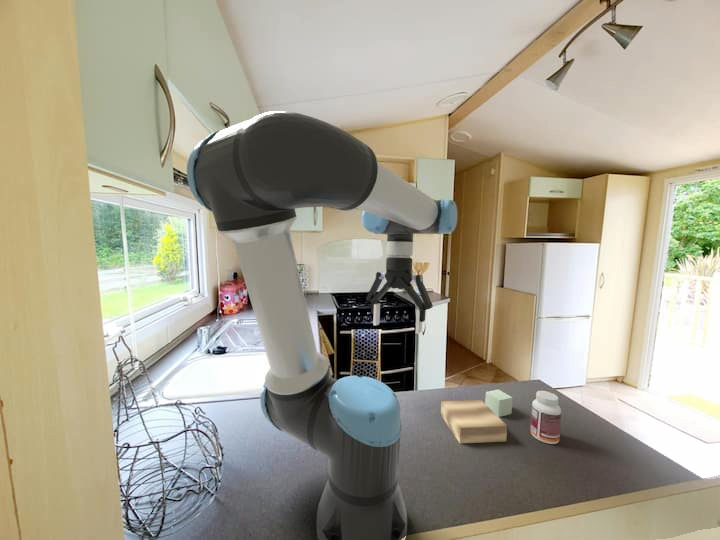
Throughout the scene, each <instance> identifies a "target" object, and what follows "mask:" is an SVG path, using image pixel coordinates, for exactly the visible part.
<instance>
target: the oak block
mask: <svg viewBox="0 0 720 540" xmlns="http://www.w3.org/2000/svg"><path fill="white" fill-rule="evenodd" d="M440 402H441V403H440V416H441V417H442V419H443V421H444V422H445V424H446V425H447V427H448V428H449V430H450V431H451V433H452V434H453V436H454V437H455V439H456V440H457V441H458V443H459V444H477V443H496V442H497V443H500V442H507V435H508V425H507V424H506V423H505V422H504V421H503V420H502V419H501V418H500V417H498V416H497V415H496V414H495V413H494V412H493V411H492V410H491V409H490V408H489V407H488V406H487V405H486V404H485V401H483V400H482V399H473V400H471V399H466V400H441V401H440Z"/></svg>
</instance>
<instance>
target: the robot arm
mask: <svg viewBox="0 0 720 540" xmlns="http://www.w3.org/2000/svg"><path fill="white" fill-rule="evenodd" d="M186 179H187V183H188V186H189V189H190V191H191V193H192V195H193V196H194V198H195V200H196V202H198V203H199V204H200V205H201V206H203V207H204V209H206V210H208V211H209V212H211V213H212V215H213V219H214V222H215V225H216V228H217V231H218V234H220V235H222V236H224V237H225V238H227V239H229V240H230V241H232V243H233V245H234V250H235V252H236V256H237V259H238V262H239V266H240V270H241V273H242V277H243V279H244V283H245V286H246V290H247V294H248V297H249V300H250V303H251V306H252V307H251V308H252V309H253V313H254V316H255V319H256V321H255V322H256V324H257V326H258V327H257V328H258V331H259V335H260V337H261V340H262V344H263V347H264V350H265V354H266V357H267V361H268V365H269V369H268V370H267V372H266V374H265V377H264V383H263V386H262V387H263V388H264V389H263V391H261V393H260V407H261V411H262V414H263V415H264V418H266V420H267V421H268V422H269V423H270V424H271V425H272V426H273V427H274V428H275V429H277V430H279V431H281V432H283V433H286V434H287V435H289V436H290V437H293V439H295V440H298V441H300V442H301V443H303V444H304V445H306V446H308V447H310V448H311V449H313V450H314V451H316V452H319V453H320V454H322V455H323V456H325V457H326V458H327V460H328V466H327V467H328V470H327V471H328V473H327V474H328V476H327V481H326V483H325V486H324V489H323V492H322V495H321V497H320V500H319V503H318V506H317V510H316V536H317V540H401V539H402V538H404V537H405V536H406V535H407V533H408V513H407V508H406V505H405V501H404V498H403V495H402V491H401V487H400V484H399V467H400V466H399V465H400V451H401V450H400V449H401V448H400V447H401V446H400V445H401V433H402V420H401V418H402V417H401V405H400V401H399V399H398V397H397V394H396V393H395V392H394V390H392V389H391V387H389V386H388V385H387V384H385V383H384V382H383V381H380V380H378V379H375V378H373V377H370V376H365V375H362V376H360V377H359V375H349V376H344V377H342V378H339V379H335V378H333V376H332V375H331V369H330V366H329V361H328V358H327V357H326V356H325V355H324V354H322V353H320V352H318V350H317V346H316V341H315V336H314V332H313V328H312V324H311V319H310V315H309V310H308V304H307V301H306V297H305V293H304V288H303V285H302V280H301V275H300V274H301V273H300V272H299V267H298V262H297V258H296V252H295V249H294V244H293V240H292V236H291V232H290V231H291V227H292V226H293V225H294V223H295V221H296V220H297V214H296V209H302V208H321V207H323V208H332V209H336V210H339V211H344V212H349V211H353V210H356V209H357V210H360V211H362V214H361V223H362V225H363V227H364V229H365V231H368V232H369V233H372V234H373V233H374V234H375V235H379V234H380V235H386V236H387V237H386V252H385V254H386V256H387V258H386V260H385V261H386V263H385V270H386V272H383V271H377V272H376V274H375V280H374V281H373V283H372V285H371V287H370V289H369V291H368V293H367V296H366V298H365V300H366V302H370V304H371V306H370V307H371V311H370V312H371V314H372V315H373V318H372V319H373V321H372V324H373V326H379V325H380V319H381V317H380V316H381V303H380V302H379V301H380V300H381V299H382V298H383V297H384V296H385V295H386V293H387V292H388V291H389V290H390V289H398V290H405V292H407V293H408V295H409V297H411V299H412V302H414V303H415V305H416V306H417V308H418V309H417V310H416V312H415V313H416V316H415V317H416V318H415V319H416V320H415V334H417V335H419V334H420V333H422V329H423V328H422V327H423V323H424V322H425V321H426V315H427V314H426V313H427V312H426V311H427V310H430V309H432V308H433V307H434V306H433V303H432V301H431V299H430V296H429V294H428V291H427V289H426V287H425V284H424V278H423V277H424V276H423V275H422V274H416V275H413V274H412V272H413V257H412V256H413V254H414V253H413V251H414V250H413V249H414V234H421V235H423V234H430V235H431V234H435V235H437V234H438V235H441V234H451V233H453V232H454V231H455V229H456V227H457V224H458V208H457V207H458V206H457V204H456V202H455V201H454V200H453V199H443V198H442V199H441V198H440V199H438V200H436V199H435V198H432V197H431V196H430V195H427V194H426V193H425V192H423V191H422V190H420V189H419V188H417V187H416V186H414V185H413V184H411V183H410V182H409V181H407V180H405V179H404V178H402V177H401V176H400V175H398V174H396V173H395V172H393V171H392V170H390V168H388V167H386V166H384V165H383V164H381V163H380V162H379V160H378V157H377V155H376V153H375V152H374V150H373V149H372V148H371V147H370V146H369V145H368V144H366V143H364V142H363V141H362V140H360V139H358V138H357V137H356V136H354V135H353V134H351V133H349V132H348V131H345V130H343V129H341V128H339V127H337V126H335V125H333V124H331V123H329V122H326V121H324V120H321V119H318V118H316V117H313V116H309V115H306V114H302V113H299V112H292V111H285V110H279V111H277V110H275V111H268V112H264V113H262V114H259V115H256V116H253V118H251V119H248V120H245V121H242V122H240V123H238V124H235V125H232V126H230V127H228V128H225V129H219V130H217V131H215V132H213V133H210V134H209V135H207V137H205V138H204V139H203V140H201V141H200V142H198V143H197V144H196V145H195V146H194V148H193V150H192V151H191V153H190V154H189V157H188V160H187V164H186ZM384 279H385V280H386V282H385V283H384V284H383V286H382V288H380V286H381V283H382V282H383V280H384ZM412 281H413V282H414V283H415V285H416V287H417V291H418V292H419V294H420V295H419V294H418V293H417V291H416V290H415V289H414V286H413V285H412V283H411V282H412ZM379 288H380V290H379ZM378 290H379V291H378ZM406 537H407V536H406Z"/></svg>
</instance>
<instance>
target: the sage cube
mask: <svg viewBox="0 0 720 540" xmlns="http://www.w3.org/2000/svg"><path fill="white" fill-rule="evenodd" d="M484 400H485V401H484V403H485V404H486V405H487V406H488V407H489V408H490V409H491V410H492V411H493V412H494V413H495V414H496V415H497V416H498V417H499V418H500V417H504V416H509V415H512V413H513V412H512V411H513V410H512V409H513V397H512V396H511V395H509V394H507V393H505V392H504V391H502V390H500V389H494V390H489V391H485V399H484Z"/></svg>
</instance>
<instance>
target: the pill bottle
mask: <svg viewBox="0 0 720 540" xmlns="http://www.w3.org/2000/svg"><path fill="white" fill-rule="evenodd" d="M531 403H532V404H531V415H530V416H531V417H530V419H531V420H530V434H531V436H533V438H535V439H536V440H538V441H539V442H542V443H545V444H549V445H556V444H558V443H559V442H560V436H561V435H560V434H561V433H560V432H561V420H562V409H561V406H560V405H559V397H558V396H557V394H554V393H553V392H550V391H545V390H537V391H536V394H535V399H533V401H532V402H531Z"/></svg>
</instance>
